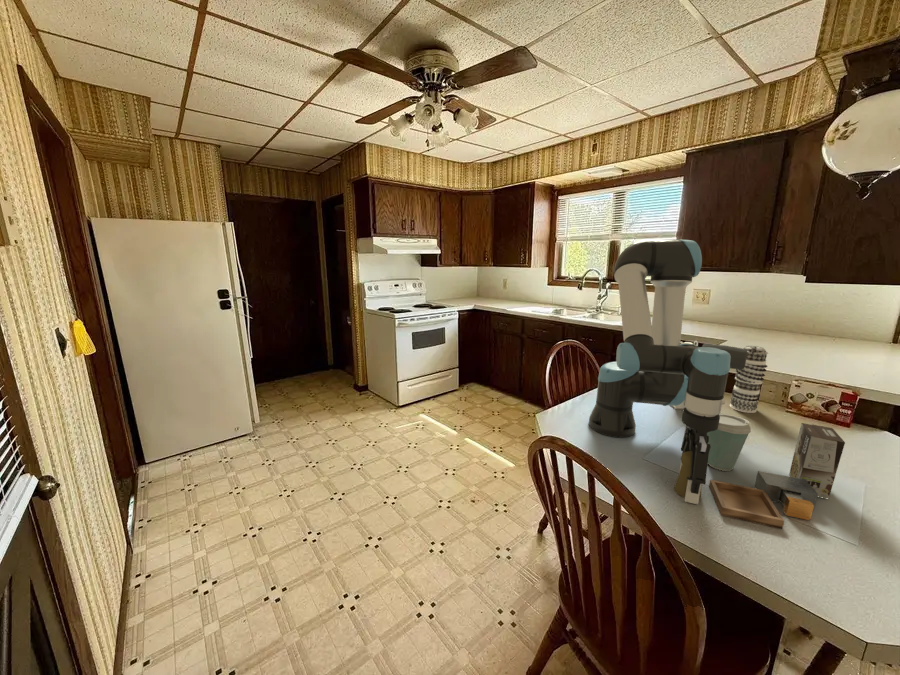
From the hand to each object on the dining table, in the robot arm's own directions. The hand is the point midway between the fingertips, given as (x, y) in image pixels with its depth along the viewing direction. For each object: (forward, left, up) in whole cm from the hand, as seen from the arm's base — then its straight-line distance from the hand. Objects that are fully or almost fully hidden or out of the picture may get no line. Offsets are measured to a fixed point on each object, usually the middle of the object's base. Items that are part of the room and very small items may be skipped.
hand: (687, 490), depth 95 cm
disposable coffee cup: (+11, +18, -1) cm, 21 cm away
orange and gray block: (+22, +5, 0) cm, 22 cm away
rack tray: (+11, -1, 0) cm, 12 cm away
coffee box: (+30, +15, -1) cm, 34 cm away
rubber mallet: (+14, +44, -1) cm, 46 cm away
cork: (0, 0, -1) cm, 1 cm away
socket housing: (+22, +7, 0) cm, 23 cm away
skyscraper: (+7, +60, -1) cm, 60 cm away
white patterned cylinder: (+30, +68, -1) cm, 74 cm away
